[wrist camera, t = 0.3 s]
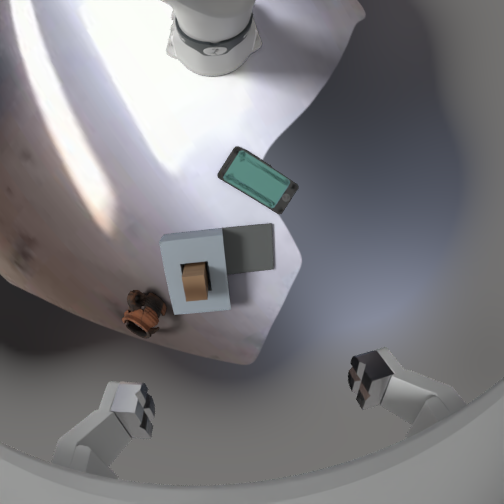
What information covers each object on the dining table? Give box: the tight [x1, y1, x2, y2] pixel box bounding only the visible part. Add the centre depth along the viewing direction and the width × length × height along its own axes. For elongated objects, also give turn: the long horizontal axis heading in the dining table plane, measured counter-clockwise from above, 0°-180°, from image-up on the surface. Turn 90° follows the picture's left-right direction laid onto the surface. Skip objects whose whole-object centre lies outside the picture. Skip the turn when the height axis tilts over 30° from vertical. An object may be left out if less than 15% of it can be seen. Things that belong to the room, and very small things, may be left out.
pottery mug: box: [122, 290, 167, 338], centre depth 56 cm, size 12×9×8 cm
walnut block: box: [182, 261, 208, 302], centre depth 52 cm, size 5×4×9 cm
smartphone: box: [218, 147, 298, 214], centre depth 52 cm, size 7×1×15 cm
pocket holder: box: [159, 228, 231, 315], centre depth 55 cm, size 16×12×5 cm
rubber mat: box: [222, 223, 274, 274], centre depth 57 cm, size 10×10×1 cm
